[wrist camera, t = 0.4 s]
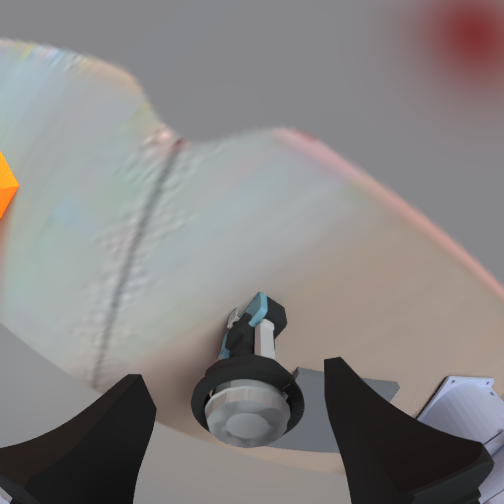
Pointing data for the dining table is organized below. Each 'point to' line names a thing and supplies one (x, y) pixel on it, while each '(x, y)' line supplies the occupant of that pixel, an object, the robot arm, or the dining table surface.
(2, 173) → the orange juice
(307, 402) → the rubber pad
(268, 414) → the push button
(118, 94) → the dining table surface
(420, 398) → the dining table surface
